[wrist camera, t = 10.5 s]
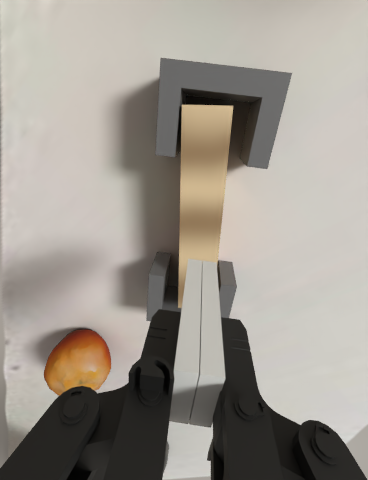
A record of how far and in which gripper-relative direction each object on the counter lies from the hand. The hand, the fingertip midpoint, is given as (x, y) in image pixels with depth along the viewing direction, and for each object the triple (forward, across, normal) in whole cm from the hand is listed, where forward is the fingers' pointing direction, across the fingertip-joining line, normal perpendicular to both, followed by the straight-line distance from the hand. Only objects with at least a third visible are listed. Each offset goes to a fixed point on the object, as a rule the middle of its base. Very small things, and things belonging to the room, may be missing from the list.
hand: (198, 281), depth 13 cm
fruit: (+13, +13, +22) cm, 29 cm away
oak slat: (+13, 0, 0) cm, 13 cm away
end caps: (+12, 0, 0) cm, 12 cm away
